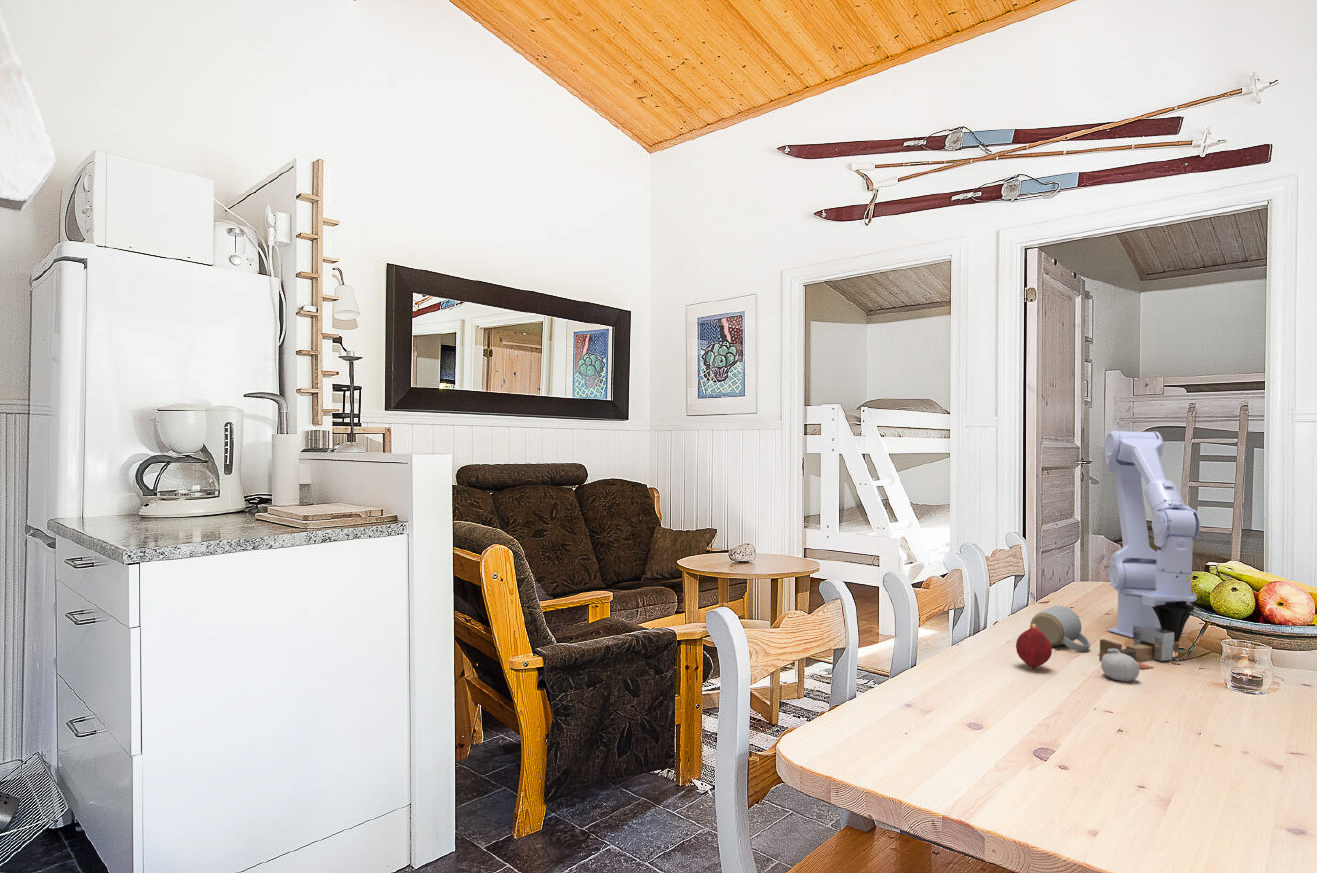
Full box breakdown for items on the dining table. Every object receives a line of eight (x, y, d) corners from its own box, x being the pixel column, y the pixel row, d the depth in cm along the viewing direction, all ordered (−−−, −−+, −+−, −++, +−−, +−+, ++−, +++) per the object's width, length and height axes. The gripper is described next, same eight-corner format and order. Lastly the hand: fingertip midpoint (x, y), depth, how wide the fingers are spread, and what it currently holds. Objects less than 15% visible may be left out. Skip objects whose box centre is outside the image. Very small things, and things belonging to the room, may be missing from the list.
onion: (1057, 674, 134) (1058, 629, 134) (1024, 673, 134) (1025, 628, 134) (1041, 664, 140) (1042, 620, 140) (1009, 663, 140) (1011, 619, 140)
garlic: (1094, 678, 133) (1095, 648, 133) (1105, 672, 137) (1106, 643, 137) (1132, 687, 129) (1134, 656, 128) (1143, 681, 132) (1144, 651, 132)
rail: (1151, 648, 152) (1151, 629, 152) (1197, 662, 144) (1197, 641, 144) (1086, 656, 146) (1087, 635, 146) (1131, 671, 137) (1131, 649, 137)
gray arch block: (1142, 650, 149) (1143, 624, 149) (1173, 659, 144) (1174, 632, 144) (1132, 652, 148) (1133, 625, 148) (1162, 661, 143) (1163, 633, 143)
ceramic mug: (1026, 642, 154) (1028, 606, 154) (1044, 637, 159) (1046, 601, 159) (1079, 656, 146) (1081, 618, 146) (1096, 649, 151) (1098, 612, 151)
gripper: (1169, 576, 141) (1166, 649, 141) (1219, 573, 147) (1217, 643, 147) (1132, 569, 148) (1130, 639, 148) (1182, 566, 153) (1180, 633, 153)
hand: (1171, 640), depth 148 cm, fingers closed
